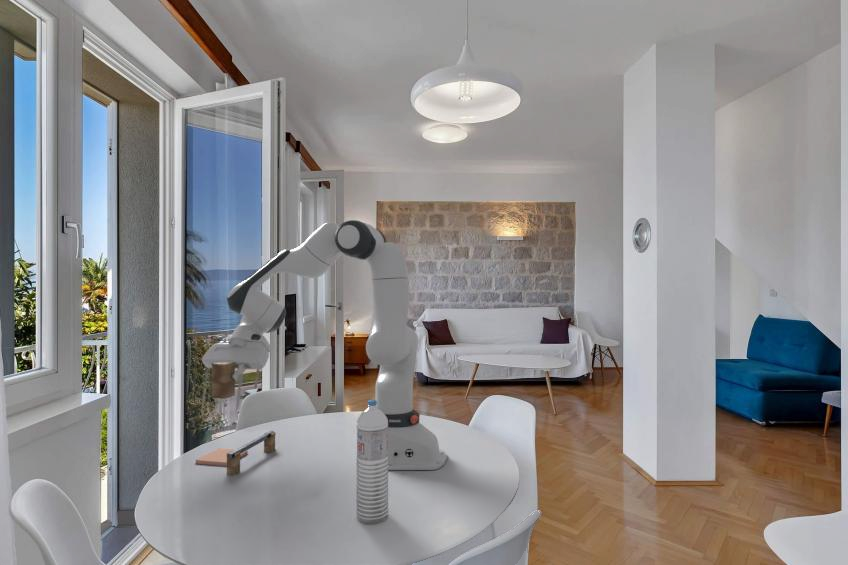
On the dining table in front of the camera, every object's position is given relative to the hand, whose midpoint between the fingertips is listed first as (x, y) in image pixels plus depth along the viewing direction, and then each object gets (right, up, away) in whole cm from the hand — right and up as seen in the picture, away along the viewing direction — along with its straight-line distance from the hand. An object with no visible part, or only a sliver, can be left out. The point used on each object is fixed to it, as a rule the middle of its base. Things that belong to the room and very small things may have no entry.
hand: (223, 378), depth 133 cm
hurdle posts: (+10, -23, -3) cm, 26 cm away
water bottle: (+49, -22, -37) cm, 65 cm away
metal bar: (+10, -19, -3) cm, 22 cm away
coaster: (0, -24, -1) cm, 24 cm away
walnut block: (0, -5, 0) cm, 5 cm away
